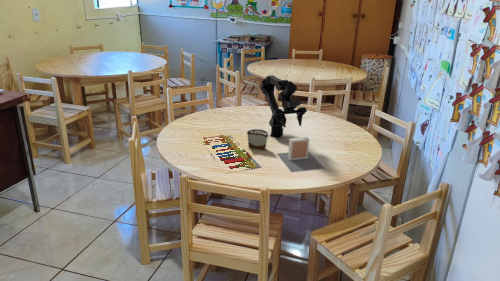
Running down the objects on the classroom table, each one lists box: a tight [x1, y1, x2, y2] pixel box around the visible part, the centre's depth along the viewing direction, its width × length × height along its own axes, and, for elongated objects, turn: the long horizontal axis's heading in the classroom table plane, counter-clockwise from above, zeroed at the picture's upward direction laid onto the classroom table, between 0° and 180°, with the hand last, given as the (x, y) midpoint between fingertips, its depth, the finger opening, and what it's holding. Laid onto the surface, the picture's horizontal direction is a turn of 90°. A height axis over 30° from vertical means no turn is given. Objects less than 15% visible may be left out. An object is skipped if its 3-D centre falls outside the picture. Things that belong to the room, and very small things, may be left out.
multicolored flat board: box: [202, 134, 262, 171], centre depth 194 cm, size 45×2×19 cm
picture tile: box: [287, 137, 310, 160], centre depth 187 cm, size 2×10×11 cm, turn 105°
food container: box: [246, 128, 269, 151], centre depth 199 cm, size 12×6×10 cm, turn 71°
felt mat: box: [276, 151, 326, 173], centre depth 187 cm, size 22×18×1 cm
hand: (292, 126), depth 196 cm, fingers open, 9 cm apart
